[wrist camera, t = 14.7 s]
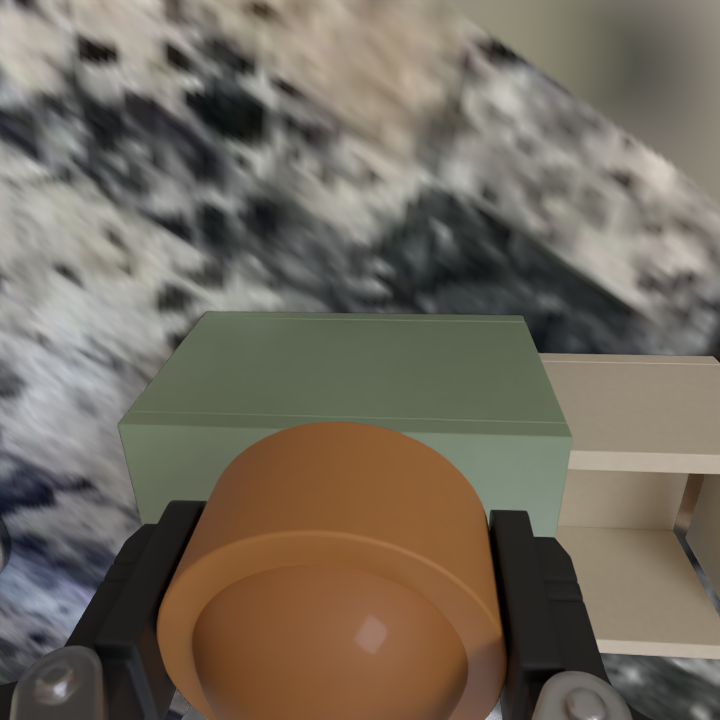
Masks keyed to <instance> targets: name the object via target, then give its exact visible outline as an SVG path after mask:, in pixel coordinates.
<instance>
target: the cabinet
mask: <svg viewBox="0 0 720 720" xmlns="http://www.w3.org/2000/svg"><path fill="white" fill-rule="evenodd" d="M318 422H352V423H362V424H367V425H373V426H378V427H382V428H386V429H389V430H392V431H396V432H399V433H401V434H404V435H406V436H408V437H411V438H413V439H415V440H418V441H419V442H421V443H423V444H425V445H427V446H428V447H430V448H432V449H434V450H435V451H436V452H438V453H439V454H440V455H442V456H443V457H444V458H446V459H447V460H448V461H450V462H451V463H452V464H453V465H454V466H455V467H456V468H457V469H458V470H459V471H460V472H461V473H462V474H463V475H464V476H465V478H466V479H467V480H468V482H469V483H470V484H471V485H472V487H473V488H474V490H475V492H476V493H477V495H478V497H479V499H480V500H481V502H482V505H483V508H484V510H485V513H486V516H487V520H488V526H489V516H490V511H491V510H526V511H527V512H528V514H529V518H530V522H531V527H532V531H533V535H534V537H555V538H556V532H557V526H558V520H559V515H560V509H561V503H562V498H563V492H564V486H565V480H566V475H567V469H568V463H569V457H570V452H571V446H572V440H573V437H572V434H571V432H570V429H569V427H568V424H567V422H566V420H565V417H564V415H563V412H562V410H561V407H560V405H559V403H558V400H557V398H556V395H555V393H554V390H553V388H552V386H551V383H550V381H549V378H548V376H547V373H546V371H545V369H544V366H543V364H542V361H541V359H540V356H539V354H538V352H537V349H536V347H535V344H534V342H533V339H532V337H531V335H530V332H529V330H528V327H527V325H526V323H525V321H524V318H523V316H521V315H447V314H370V313H293V312H217V311H207V312H206V313H205V314H204V315H203V316H202V318H201V319H200V320H199V321H198V322H197V324H196V325H195V326H194V328H193V329H192V330H191V331H190V333H189V334H188V335H187V336H186V338H185V339H184V340H183V342H182V343H181V344H180V345H179V347H178V348H177V349H176V351H175V352H174V353H173V354H172V356H171V357H170V358H169V359H168V361H167V362H166V363H165V365H164V366H163V367H162V368H161V370H160V371H159V372H158V373H157V375H156V376H155V377H154V379H153V380H152V381H151V382H150V384H149V385H148V386H147V388H146V389H145V390H144V391H143V393H142V394H141V395H140V396H139V398H138V399H137V400H136V402H135V403H134V404H133V405H132V407H131V408H130V409H129V411H128V412H127V413H126V414H125V416H124V417H123V418H122V419H121V421H120V422H119V423H118V429H119V433H120V437H121V441H122V445H123V449H124V453H125V457H126V461H127V466H128V470H129V474H130V478H131V482H132V486H133V490H134V494H135V498H136V502H137V506H138V510H139V514H140V519H141V523H142V526H143V525H144V524H157V523H158V522H159V520H160V518H161V516H162V514H163V512H164V510H165V509H166V507H167V505H168V503H169V502H170V501H172V500H194V501H207V502H208V500H209V498H210V495H211V493H212V491H213V489H214V487H215V485H216V482H217V481H218V479H219V478H220V476H221V474H222V473H223V471H224V470H225V468H226V467H227V466H228V465H229V464H230V463H231V462H232V461H233V460H234V459H235V458H236V457H237V456H238V455H239V454H240V453H242V452H243V451H244V450H245V449H247V448H248V447H249V446H251V445H253V444H255V443H256V442H258V441H260V440H261V439H263V438H265V437H267V436H270V435H272V434H274V433H277V432H279V431H281V430H285V429H289V428H292V427H296V426H299V425H306V424H312V423H318Z"/></svg>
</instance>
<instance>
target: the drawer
mask: <svg viewBox="0 0 720 720" xmlns="http://www.w3.org/2000/svg"><path fill="white" fill-rule="evenodd" d="M538 354H539V356H540V359H541V361H542V364H543V366H544V369H545V371H546V373H547V376H548V378H549V381H550V383H551V386H552V388H553V390H554V393H555V395H556V398H557V400H558V403H559V405H560V407H561V410H562V412H563V415H564V417H565V420H566V422H567V424H568V427H569V429H570V432H571V434H572V437H573V440H572V446H571V452H570V457H569V463H568V469H567V475H566V480H565V486H564V492H563V498H562V503H561V509H560V515H559V520H558V526H557V532H556V538H555V539H556V540H557V541H558V542H559V543H560V545H561V546H562V547H563V548H564V549H565V551H566V552H567V553H568V554H569V555H570V557H571V559H572V563H573V566H574V569H575V573H576V576H577V579H578V580H577V582H578V584H579V586H580V589H581V592H582V596H583V602H585V606H586V609H587V612H588V616H589V619H590V622H591V626H592V629H593V632H594V636H595V639H596V642H597V645H598V649H599V652H600V653H615V654H633V655H651V656H669V657H687V658H705V659H720V617H719V615H718V613H717V611H716V610H715V608H714V606H713V604H712V602H711V600H710V598H709V597H708V595H707V593H706V591H705V589H704V587H703V585H702V584H701V582H700V580H699V578H698V576H697V574H696V572H695V571H694V569H693V567H692V565H691V563H690V561H689V559H688V558H687V556H686V554H685V552H684V550H683V548H682V547H681V545H680V543H679V541H678V539H677V537H676V535H675V534H674V532H673V528H674V525H675V521H676V518H677V515H678V511H679V508H680V504H681V501H682V497H683V494H684V491H685V487H686V484H687V480H688V477H689V474H690V473H695V474H705V476H704V480H703V483H702V486H701V489H700V493H699V496H698V499H697V502H696V506H695V509H694V512H693V515H692V519H691V522H690V525H689V528H688V532H687V535H686V540H687V542H688V544H689V545H690V547H691V549H692V551H693V553H694V554H695V556H696V558H697V560H698V562H699V563H700V565H701V567H702V569H703V571H704V572H705V574H706V576H707V578H708V580H709V581H710V583H711V585H712V587H713V589H714V590H715V592H716V594H717V596H718V597H719V599H720V363H719V362H718V361H717V360H716V359H715V358H714V357H713V356H668V355H611V354H555V353H538Z"/></svg>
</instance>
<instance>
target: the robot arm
mask: <svg viewBox="0 0 720 720" xmlns="http://www.w3.org/2000/svg"><path fill="white" fill-rule="evenodd" d="M206 504H207V501H194V500H172V501H170V502H169V503H168V505H167V507H166V509H165V510H164V512H163V514H162V516H161V518H160V520H159V522H158V523H157V524H144V525H143V526H142V527H141V528H140V529H139V530H138V531H136V532H135V533H134V534H133V535H132V536H131V537H130V538H128V539H127V540H126V541H125V543H124V545H123V547H122V548H121V550H120V552H119V553H118V555H117V557H116V559H115V560H114V565H111V567H110V569H109V571H108V572H107V574H106V576H105V577H104V578H105V580H104V582H102V583H101V584H100V586H99V588H98V589H97V591H96V593H95V595H94V596H93V598H92V600H91V601H90V603H89V605H88V607H87V608H86V610H85V612H84V613H83V615H82V617H81V619H80V620H79V622H78V624H77V625H76V627H75V629H74V631H73V632H72V634H71V636H70V637H69V639H68V641H67V643H66V644H65V646H64V647H63V648H60V649H57V650H54V651H52V652H50V653H48V654H46V655H44V656H43V657H41V658H40V659H38V660H37V661H36V662H35V663H33V664H32V665H31V666H30V667H29V668H28V669H27V670H26V671H25V673H24V674H23V675H22V676H21V678H20V679H19V681H16V682H12V683H9V684H5V685H1V686H0V720H165V717H166V715H167V712H168V709H169V706H170V704H171V701H172V698H173V696H174V693H175V690H176V687H175V686H174V684H173V683H172V681H171V679H170V678H169V676H168V674H167V672H166V669H165V666H164V663H163V659H162V656H161V652H160V649H159V645H158V641H157V618H158V612H159V608H160V605H161V603H162V600H163V598H164V596H165V593H166V591H167V589H168V587H169V585H170V582H171V580H172V578H173V576H174V574H175V572H176V569H177V567H178V565H179V563H180V561H181V558H182V556H183V554H184V552H185V550H186V548H187V545H188V543H189V541H190V539H191V537H192V535H193V532H194V530H195V528H196V526H197V524H198V522H199V519H200V517H201V515H202V513H203V511H204V508H205V506H206ZM489 531H490V538H491V545H492V552H493V558H494V565H495V572H496V579H497V585H498V592H499V599H500V606H501V613H502V619H503V626H504V633H505V640H506V646H507V653H508V665H507V675H506V680H505V685H504V688H503V691H502V693H501V695H500V703H501V711H502V719H503V720H652V719H650V718H648V717H646V716H644V715H643V714H641V713H639V712H638V711H636V710H635V709H634V708H632V707H631V706H630V705H629V704H627V703H626V702H625V701H624V699H623V698H622V696H621V695H620V694H619V693H618V692H617V691H616V690H615V689H614V688H613V686H612V685H611V683H610V681H609V679H608V677H607V674H606V672H605V669H604V665H603V662H602V659H601V655H600V652H599V649H598V645H597V642H596V639H595V636H594V632H593V629H592V626H591V622H590V619H589V616H588V612H587V609H586V606H585V602H583V596H582V592H581V589H580V586H579V584H578V582H577V580H578V579H577V576H576V573H575V569H574V566H573V563H572V559H571V557H570V555H569V554H568V553H567V552H566V551H565V549H564V548H563V547H562V546H561V545H560V543H559V542H558V541H557V540H556V539H555V537H534V535H533V531H532V527H531V522H530V518H529V514H528V512H527V511H526V510H491V511H490V516H489ZM10 550H11V549H10V541H9V537H8V533H7V531H6V529H5V526H4V525H3V523H2V521H1V520H0V574H1V572H2V571H3V570H4V568H5V567H6V565H7V563H8V561H9V557H10Z"/></svg>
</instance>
